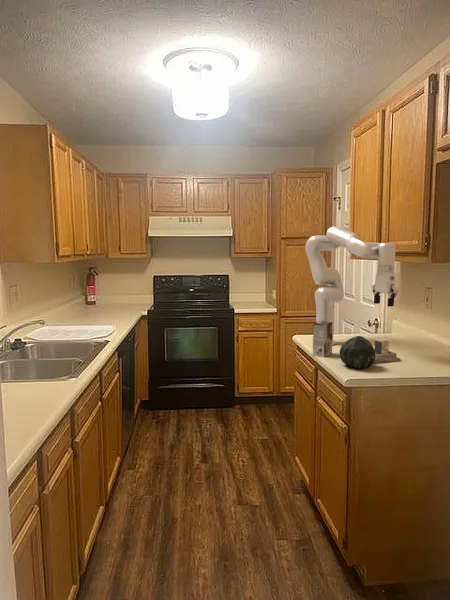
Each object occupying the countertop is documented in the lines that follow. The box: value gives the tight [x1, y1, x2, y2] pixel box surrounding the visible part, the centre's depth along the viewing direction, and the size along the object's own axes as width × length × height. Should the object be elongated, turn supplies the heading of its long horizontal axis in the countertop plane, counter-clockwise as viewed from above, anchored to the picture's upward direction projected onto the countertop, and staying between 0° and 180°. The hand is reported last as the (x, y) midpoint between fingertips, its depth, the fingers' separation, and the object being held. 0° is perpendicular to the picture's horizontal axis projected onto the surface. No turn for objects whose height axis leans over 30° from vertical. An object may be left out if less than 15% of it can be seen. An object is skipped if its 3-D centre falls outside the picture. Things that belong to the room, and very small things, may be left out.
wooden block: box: [374, 337, 390, 355], centre depth 202 cm, size 4×5×8 cm
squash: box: [339, 335, 375, 370], centre depth 188 cm, size 14×15×15 cm
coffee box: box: [312, 321, 333, 358], centre depth 211 cm, size 9×6×16 cm
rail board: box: [372, 347, 401, 365], centre depth 201 cm, size 13×16×6 cm
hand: (383, 304), depth 204 cm, fingers open, 9 cm apart
